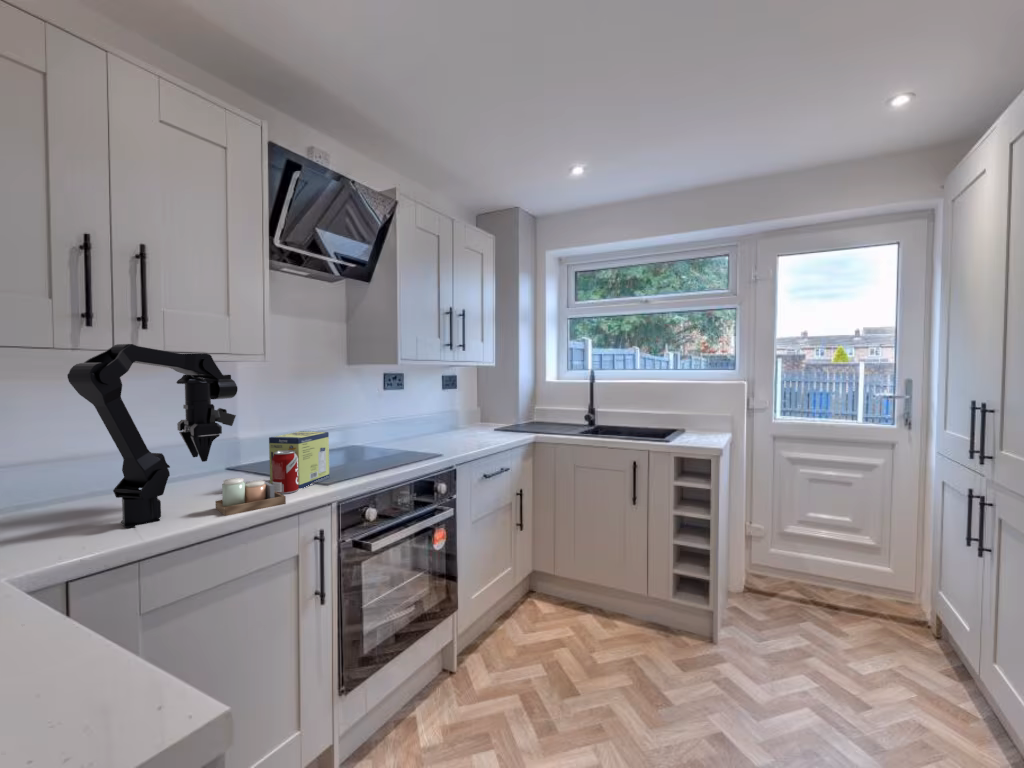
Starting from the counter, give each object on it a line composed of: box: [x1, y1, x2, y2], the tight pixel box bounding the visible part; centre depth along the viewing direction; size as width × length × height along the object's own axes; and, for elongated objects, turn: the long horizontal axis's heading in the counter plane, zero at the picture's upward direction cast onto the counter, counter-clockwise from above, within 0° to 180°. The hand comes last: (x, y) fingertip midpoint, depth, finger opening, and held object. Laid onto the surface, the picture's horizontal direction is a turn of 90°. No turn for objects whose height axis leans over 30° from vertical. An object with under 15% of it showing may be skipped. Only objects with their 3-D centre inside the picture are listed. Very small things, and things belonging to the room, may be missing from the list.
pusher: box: [264, 480, 275, 499], centre depth 127 cm, size 1×7×5 cm, turn 46°
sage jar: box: [221, 477, 246, 506], centre depth 121 cm, size 5×5×6 cm
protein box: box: [268, 430, 330, 490], centre depth 151 cm, size 10×16×16 cm
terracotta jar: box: [245, 479, 266, 503], centre depth 125 cm, size 5×5×6 cm
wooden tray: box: [215, 491, 287, 517], centre depth 124 cm, size 14×9×2 cm, turn 136°
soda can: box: [272, 450, 299, 495], centre depth 139 cm, size 7×7×12 cm
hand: (199, 459), depth 128 cm, fingers open, 9 cm apart
